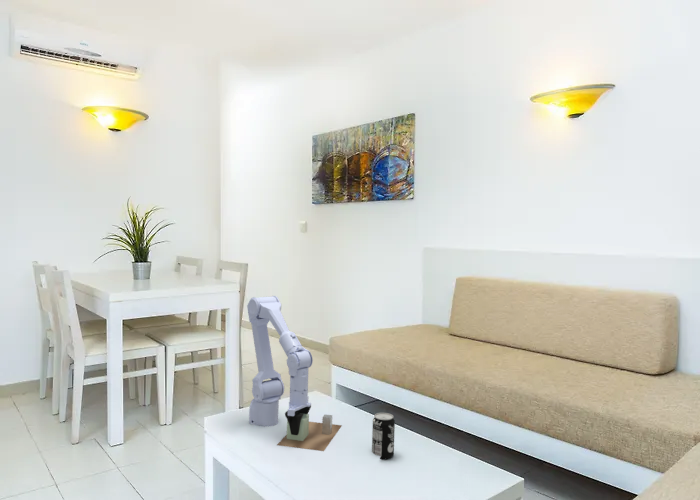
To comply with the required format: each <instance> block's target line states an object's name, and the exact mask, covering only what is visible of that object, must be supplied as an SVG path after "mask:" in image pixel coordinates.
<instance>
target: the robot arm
mask: <svg viewBox="0 0 700 500" xmlns="http://www.w3.org/2000/svg"><path fill="white" fill-rule="evenodd" d="M246 307H247V313H248V321H249V323H251V324H250V325H251V331H252V339H253V343H254V344H253V345H254V352H255V358H256V365H257V370H258V371H257V372H258V373H256V375H255V376H254V377H253V378H252V379H251V381H252V388H251V389H252V390H251V394H252V396H253V398H252V400H251V401H250V404H249V410H248V412H249V415H248V417H249V418H248V424H249V425H255V426H256V425H257V426H261V427H274V426H276V425H277V424H279V406H280V405H279V402H280V400H281V397H282V396H283V395H284V393H285V385H284V382H283V380H282V379H283V378H282V376H281V373H279V372H278V371H276V370H275V369H274V363H273V357H272V356H273V354H272V349H271V342H270V337H269V336H270V335H269V330H268V324H269V322H270V323H271V324H272V326H273V327H274V329H275V331H276V332H277V333H278V335H279V339H278V342H279V344H280V347H281V348H282V350H283V352H284V354H285V356H286V357H287V359H286V365H287V368H288V375H289V402H288V409H287V410H286V411H285V413H284V417H285V418H286V421H287V420H288V423H289V426H290V431H291V435H298V433H299V428H300V422H301V419H302V417H303V415H304V414H309V412H310V410H311V408H312V403H311V402H309V398H310V397H309V368H311V367H312V365H313V361H314V359H313V356H312V353H311V351H310V350H309V349H306V348H305V347H303V345H302V344H301V342H300V340H299V338H298V337H297V335H296V333H295V332H294V331H290V329H289V327H288V324H287V322H286V320H285V318H284V315H283V313H282V303H281V301H280V299H279V297H278V296H276V295H272V296H260V297H255V296H253V297H251V298H250V299H249V302H248V303H247V305H246ZM300 413H301V414H300Z"/></svg>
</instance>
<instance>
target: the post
mask: <svg viewBox="0 0 700 500" xmlns="http://www.w3.org/2000/svg"><path fill="white" fill-rule="evenodd" d="M321 420H322V421H321V423H322V434H327V435H330V434H331V433H332V424H333V414H324V415H323V416H322V419H321Z"/></svg>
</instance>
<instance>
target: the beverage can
mask: <svg viewBox="0 0 700 500" xmlns="http://www.w3.org/2000/svg"><path fill="white" fill-rule="evenodd" d="M395 425H396V421H395V418H394V415H393V414H391V413H388V412H377V413H375V414H374V417H373V419H372V432H371V433H372V435H371V438H372V439H371V453H372V454H373V455H375V456H379V460H389V459H391V458H392V457H393V456H394V454H395V428H396V427H395Z"/></svg>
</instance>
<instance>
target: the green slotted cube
mask: <svg viewBox="0 0 700 500" xmlns="http://www.w3.org/2000/svg"><path fill="white" fill-rule="evenodd" d="M300 414H301V413H300ZM309 422H310V414H309V413H308V414H304V415H303V417H302V419H301V422H300V428H299V433H298V435H291V431H290V426H289V423H288V420H287V419H286V435H287V439H291V440H299V441H303V440H304V439H305V438H306V437H307V436H308V432H309Z"/></svg>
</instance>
